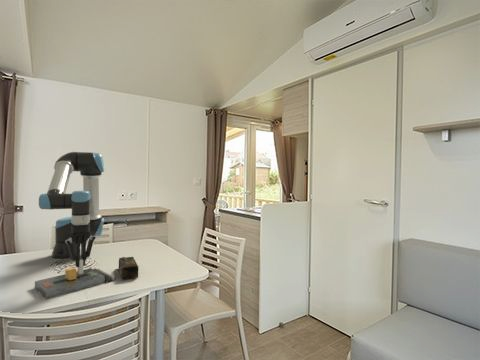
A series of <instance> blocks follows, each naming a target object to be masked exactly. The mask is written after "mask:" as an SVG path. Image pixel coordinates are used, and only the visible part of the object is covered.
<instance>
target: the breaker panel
mask: <svg viewBox="0 0 480 360" xmlns="http://www.w3.org/2000/svg"><path fill="white" fill-rule="evenodd" d="M93 269H94V268H86V269H83V274H79V273H78V270H76V279H73V280H68V279H66V278H65V274H61V275H56V276H52V277H48V278H44V279H43V278H42V279H39V280H35V281H34V289H35V290H36V291H37V292H38V293H39V294H40V295H41V296H42V297H43V298H44V299H45V300H48V299H52V298H55V297H58V296H61V295H65V294H68V293H72V292H76V291H79V290H83V289H87V288H90V287H94V286H97V285H100V284H101V285H102V284H105V282H106V280H105V276H103V275H102V274H100V273H98V272H96V271H95V270H93Z"/></svg>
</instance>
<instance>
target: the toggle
mask: <svg viewBox="0 0 480 360" xmlns="http://www.w3.org/2000/svg"><path fill="white" fill-rule="evenodd" d="M64 272H65V278H66V279H68V280H73V279H76V272H77V269H76V268H74V267H69V268H65V270H64Z"/></svg>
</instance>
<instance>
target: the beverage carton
mask: <svg viewBox="0 0 480 360" xmlns="http://www.w3.org/2000/svg"><path fill="white" fill-rule="evenodd" d="M118 270H119V271H118V272H119V274H120V278H121V281H123V280H131V279H138V278H139V265H138V263H137V261H136V260H135V257H134V256H128V257H126V256H122V257H119V258H118Z"/></svg>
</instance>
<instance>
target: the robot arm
mask: <svg viewBox="0 0 480 360" xmlns="http://www.w3.org/2000/svg"><path fill="white" fill-rule="evenodd" d="M53 168H54V169H53V170H54V172H53V175H52V177H51V181H50V184H49V186H48V189H47V192H46V193H40V195H39V196H38V208H39V209H41V210H49V211H50V210H65V209H66V210H70V209H71V216H67V217H61V218H60V219H59V218H58V219H57V220H56V222H55V243H54V247H53V249H52V253H51V257H52V258H53V259H69V258H70V259H72V260H73V261H75V264H74V266H75V267H76V268H77V271H78V273H79V274H83V270H84V266H86V260H87V258H89V257H90V256H91V253H92V248H93V244H94V241H95V239H96V237H100V236H101V235H102V234H103V230H104V229H103V227H104V222H105V218H104V217H102V214H100V190H99V189H100V177H101V176H102V173H103V172H105V164H104V158H103V155H102V154H101V153H99V152H85V151H84V152H83V151H81V152H80V151H79V152H78V151H71V152H67V153H65V154H63V155H61V156H60V157H59V158H58V159H57V160H56V161H55V163H54V167H53ZM73 172H80V173H79V174H80V176H81V177H82V181H83V184H82V186H83V187H82V189H83V190H74V191H72V192H71V193H66V191H67V188H68V184H69V180H70V177H71V174H73ZM87 241H88V242H87Z"/></svg>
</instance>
